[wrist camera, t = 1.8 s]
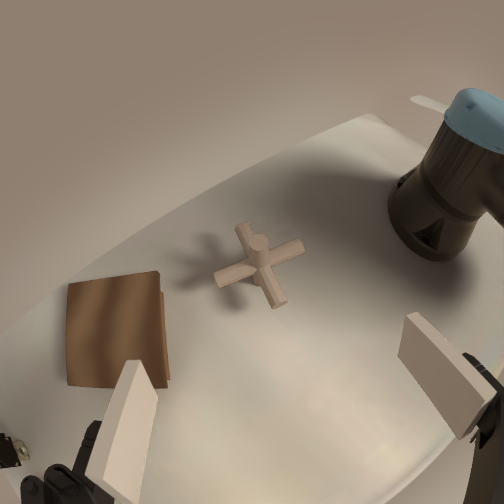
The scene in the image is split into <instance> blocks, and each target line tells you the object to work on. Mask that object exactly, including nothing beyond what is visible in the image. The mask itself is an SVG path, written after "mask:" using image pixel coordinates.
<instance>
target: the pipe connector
mask: <svg viewBox="0 0 504 504" xmlns="http://www.w3.org/2000/svg"><path fill="white" fill-rule="evenodd" d="M235 231H236V233H237V236H238V238H239V240H240V242H241V244H242V246H243V248H244V251H245V253H246V255H247V257H248V259H245V260H243V261H240V262H238V263H235V264H233V265H230V266H228V267H225V268H223V269H220V270H218V271H216V272H213V274H214V277H215V280H216V282H217V284H218V287H219V288H222V287H224V286H227V285H229V284H231V283H234V282H236V281H239V280H241V279H244V278H246V277H248V276H251V275H253V282H254V283H255V285H257V286H261V287H262V289H263V291H264V293H265V296H266V298H267V300H268V302H269V304H270V306H271V308H272V309H275V308H278V307H280V306H282V305H284V304H286V303H287V302H288V301H287V299H286V297H285V295H284V293H283V290H282V288H281V286H280V284H279V282H278V280H277V278H276V276H275V274H274V272H273V270H272V268H271V267H272V266H275V265H277V264H280V263H282V262H284V261H287V260H289V259H291V258H294V257H296V256H298V255H301V254H303V253H305V249H304V245H303V243H302V241H301V240H300V239H299V238H297V239H294V240H292V241H289V242H287V243H284V244H282V245H279V246H277V247H275V248H272V249H270V250H269V239H268V237H267V236H266V235H264V234H262V233H256V234H254V232H253V230H252V228H251V226H250V224H249V223H248V222H242V223H240V224H238V225H237V226H236V227H235Z"/></svg>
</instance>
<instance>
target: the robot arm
mask: <svg viewBox="0 0 504 504" xmlns="http://www.w3.org/2000/svg"><path fill="white" fill-rule="evenodd" d="M388 210H389V215H390V219H391V222H392V224H393V226H394V228H395V230H396V232H397V233H398V235H399V236H400V238H401V239H402V240H403V241H404V243H405V244H406V245H407V246H408V247H409V248H411V249H412V250H413V251H414V252H416V253H417V254H419V255H420V256H422V257H424V258H426V259H429V260H432V261H447V260H450V259H452V258H454V257H455V256H456V255H457V254H459V253H460V252H461V251H462V250H463V249H464V248H465V246H466V245H467V243H468V241H469V238H470V236H471V234H472V232H473V230H474V228H475V225H476V223H477V221H478V219H479V218H480V217H481V216H482V215H483V214H484V213H485V212H486V211H487V212H488V213H489V214H490V215H491V216H492V217H493V218H494V219H495V220H496V221H497V222H498V223H499V224H500V225H501V226H502V227H503V228H504V101H503V100H501V99H499V98H498V97H496V96H494V95H492V94H490V93H488V92H485V91H482V90H479V89H474V88H467V89H463V90H461V91H459V92H458V93H457V95H456V96H455V99H454V100H453V102H452V104H451V106H450V108H449V109H447V110H446V112H445V114H444V121H443V123H442V125H441V127H440V128H439V130H438V132H437V134H436V136H435V138H434V140H433V142H432V143H431V145H430V147H429V149H428V151H427V152H426V154H425V156H424V158H423V160H422V161H421V163H420V164H419V165H417V166H416V167H415V168H413V169H412V170H411V171H409V172H408V173H406V174H405V175H404V176H402V177H401V178H400V179H399V180H398V181H397V183H396V184H395V186H394V188H393V189H392V191H391V193H390V196H389V200H388ZM398 357H399V359H400V360H401V361H402V362H403V364H404V365H405V366H406V368H407V369H408V370H409V372H410V373H411V374H412V376H413V377H414V378H415V380H416V381H417V382H418V384H419V385H420V386H421V388H422V389H423V390H424V392H425V393H426V395H427V396H428V397H429V399H430V400H431V401H432V403H433V404H434V406H435V407H436V408H437V410H438V411H439V413H440V414H441V415H442V417H443V418H444V420H445V421H446V423H447V424H448V425H449V427H450V428H451V430H452V431H453V433H454V434H455V436H456V437H457V439H458V440H460V439H462V438H463V437H465V436H466V435H468V434H469V433H471V432H472V430H473V429H474V427H475V426H476V425H477V426H478V427H479V429H478V430H477V432H476V433H475V434H474V436H473V437H472V438H471V441H470V443H472V442H473V441H474V439H475V438H476V441H475V450H474V457H473V464H472V468H471V474H470V478H469V483H468V487H467V491H466V495H465V499H464V502H463V504H504V387H503V386H502V385H501V384H500V383H499V382H498V381H497V380H496V379H495V378H494V377H493V375H492V374H491V373H490V372H489V371H488V370H486V368H485V367H484V366H483V365H481V363H480V362H479V361H478V360H477V359H476V358H475V357H473V356H472V355H470V354H468V353H466V352H465V353H463V354H461V353H460V352H459V351H458V350H457V349H456V348H455V347H454V346H453V345H452V344H451V343H450V342H449V341H447V340H446V339H445V338H444V337H443V336H442V335H441V334H440V333H439V332H438V331H437V330H436V329H435V328H434V327H433V326H432V325H431V324H430V323H429V322H428V321H427V320H425V319H424V318H423V317H422V316H421V315H420V314H419V313H418V312H415V313H412V314H408V315H406V316H405V322H404V328H403V333H402V338H401V343H400V348H399V352H398ZM157 402H158V396H157V394H156V392H155V390H154V388H153V386H152V384H151V382H150V380H149V377H148V375H147V373H146V371H145V369H144V367H143V364H142V362H141V360H126V363H125V365H124V368H123V370H122V372H121V375H120V377H119V380H118V382H117V385H116V387H115V390H114V392H113V395H112V397H111V400H110V402H109V405H108V408H107V410H106V413H105V416H104V418H103V421H97V420H94V421H93V422H92V424H91V425H90V426H89V427H88V428H87V431H86V433H85V436H84V439H83V441H82V444H81V447H80V449H79V452H78V455H77V458H76V461H75V463H74V466H73V469H72V471H71V470H70V469H68V468H67V467H66V466H64V465H62V464H54V465H52V466H50V467H48V469H47V470H46V471H45V474H44V482H43V481H41V480H40V479H39V478H37V477H36V476H32V475H30V476H27V477H25V478H24V479H23V480H22V482H21V487H20V490H21V503H22V504H114V499H116V500H117V501H119V502H120V503H121V504H138V503H139V497H140V490H141V484H142V478H143V472H144V467H145V461H146V456H147V450H148V445H149V440H150V435H151V430H152V425H153V421H154V416H155V411H156V407H157Z"/></svg>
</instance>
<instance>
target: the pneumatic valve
mask: <svg viewBox="0 0 504 504" xmlns="http://www.w3.org/2000/svg"><path fill="white" fill-rule="evenodd" d="M27 460H30V458H29V456H28V452H27V449H26V448H25V447H24V443H23V442H22V441H19V442H12V440H11V437H5V434H4V433H0V469H1V468H10V467H17V466H22V465H21V463H20V461H27Z"/></svg>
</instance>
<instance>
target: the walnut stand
mask: <svg viewBox="0 0 504 504" xmlns="http://www.w3.org/2000/svg"><path fill="white" fill-rule="evenodd" d="M126 360H141V362H142V364H143V367H144V369H145V371H146V373H147V375H148V377H149V380H150V382H151V384H152V386H153V388H154V389H160V388H168V386H167V380H170V375H169V366H168V356H167V345H166V332H165V317H164V298H163V293H162V292H161V291H160V273H159V272H158V271H151V272H144V273H137V274H131V275H124V276H117V277H111V278H104V279H97V280H90V281H83V282H77V283H70V284H68V296H67V313H66V367H67V383H68V385H69V386H80V387H94V388H115V387H116V385H117V382H118V380H119V377H120V375H121V372H122V370H123V368H124V365H125V363H126Z"/></svg>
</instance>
